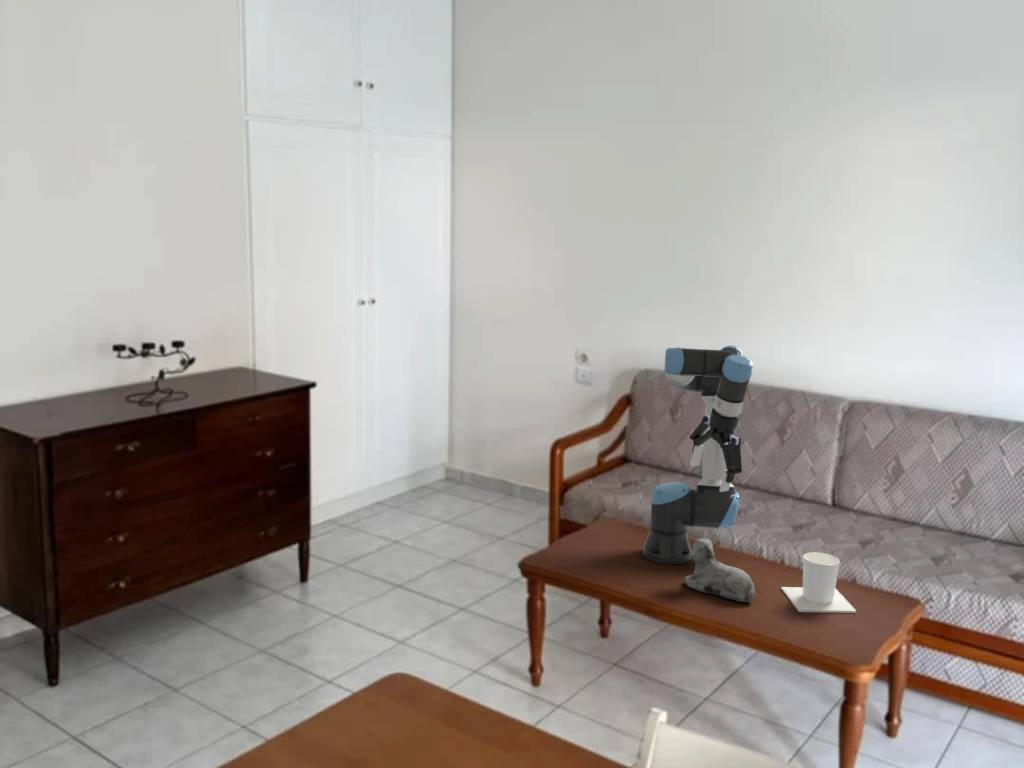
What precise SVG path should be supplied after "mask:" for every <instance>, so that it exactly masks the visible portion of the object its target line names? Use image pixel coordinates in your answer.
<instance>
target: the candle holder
mask: <svg viewBox="0 0 1024 768" xmlns="http://www.w3.org/2000/svg"><path fill="white" fill-rule="evenodd" d="M802 558H803V559H802V560H803V561H802V563H803V564H802V565H803V567H802V568H803V569H802V587H803V598H804V599H805V600H807V601H809V602H812V603H816V604H829V603H831V602H832V601H833V598H834V593H835V588H836V586H837V579H838V574H839V573H838V572H839V567H840V563H841V561H840V559H839V558H838V557H837V556H834V555H832V554H830V553H826V552H825V553H824V552H818V551H817V552H815V551H814V552H807V553H804V555H803V557H802Z"/></svg>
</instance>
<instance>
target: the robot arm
mask: <svg viewBox="0 0 1024 768" xmlns="http://www.w3.org/2000/svg"><path fill="white" fill-rule="evenodd" d="M664 356H665V357H664V376H665V379H666V380H667V382H668V383H669V384H670V385H672V386H673V387H676V388H678V389H681V390H683V391H687V392H693V393H694V392H695V393H701V394H700V395H701V397H700V398H701V400H702V401H703V402H704V404H705V409H704V410H705V412H704V413H705V415H704V416H703V417H702V419H701V422H700V423H699V424H698V426H697V427H695V429H694V431H693V432H692V433H691V434H690V436H689V438H690V440H692V444H693V446H692V449H691V454H692V455H691V460H690V463H689V466H690V467H691V468H692V467H698V466H700V463H701V458H703V459H702V471H701V472H702V475H701V480H700V481H698V482H697V483H696V489H691V487H690V484H688V483H685V482H678V481H676V482H675V481H674V482H671V481H670V482H665V483H662V484H658V485H656V486H655V487H654V488H653V490H652V493H651V500H650V504H651V507H650V508H651V509H650V523H649V532H648V535H647V537H646V539H645V542H644V544H643V547H642V555H644V556H645V557H646V558H645V557H644V556H643V557H644V558H645V559H647V560H649V561H652V562H655V563H658V564H663V565H664V564H665V565H680V564H681V565H682V564H685V563H687V561H688V562H689V561H690V560H692V558H691V557H690V554H691V552H692V550H691V544H690V541H689V538H688V527H691V528H702V529H703V528H704V529H715V530H719V529H720V530H730V529H732V528H733V527H734V525H735V523H736V519H737V515H738V510H739V504H740V503H739V501H740V494H739V492H737V491H735V485H734V484H733V482H734V478H735V475H738V474H741V473H742V472H743V469H742V467H743V466H742V456H741V455H742V454H741V443H742V437H740V436H736V435H735V434H734V430H735V429H736V428H738V424H739V421H740V417H741V413H742V409H743V405H744V401H745V398H746V393H747V390H748V386H749V383H750V380H751V378H752V375H753V374H752V371H753V366H754V364H753V362H752V360H751V359H749V358H748V357H746V356H745V354H744V353H743V351H742V349H740V347H737V346H735V345H726V346H724V347H722V348H721V349H705V348H704V349H697V348H684V347H668V348H667V349H665V353H664Z"/></svg>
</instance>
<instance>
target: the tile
mask: <svg viewBox="0 0 1024 768" xmlns="http://www.w3.org/2000/svg"><path fill="white" fill-rule="evenodd" d="M780 588H781V589H780V590H782V593H784V595H785V596H786V597H787V598H788V600H789V601H790V602H791V604H792V605H793V606H794V608H795V609H796V610H797V612H799V613H828V614H829V613H831V614H832V613H837V614H838V613H839V614H857V610H856V608H854V607H853V605H852V604H851V603H850V602H849V601H848V600H847V599H846V598H845V596H844V595H842V593H841V592H839V590H838V589H837V588H836V587H835V593H834V598H833V601H832V602H831V603H829V604H816V603H812V602H809V601H807V600H805V599H804V598H803V586H800V587H796V586H792V587H791V586H789V587H788V586H781V587H780Z"/></svg>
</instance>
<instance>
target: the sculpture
mask: <svg viewBox="0 0 1024 768" xmlns="http://www.w3.org/2000/svg"><path fill="white" fill-rule="evenodd" d="M690 548H691V554H690V557H691V560H693V561H694V562H695V566H694V571H693V574H692V575H686V576H685V577H684V581H685V583H686V585H687V587H688V588H690V589H693V590H695V591H699V592H701V593H702V592H703V593H706V594H712V595H715V596H720V597H722V598H725V599H729V600H732V601H733V600H734V601H737V602H740V603H741V602H742V603H751V602H752V601H753V600H755V597H756V589H755V588H756V587H755V584H754V582H753V580H752V578H751V577H750V575H749V574H748V573H747V572H746V571H744V570H743V569H741V568H738V567H734V566H730V565H726V564H724V563H722V562H720V561H718V560H717V559H716V558H715V557H716V556H715V552H714V545H713V542H712V540H710V539H709V538H703V537H701V538H697V539H695V541H694V542H693V544H692V545H691V546H690Z"/></svg>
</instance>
